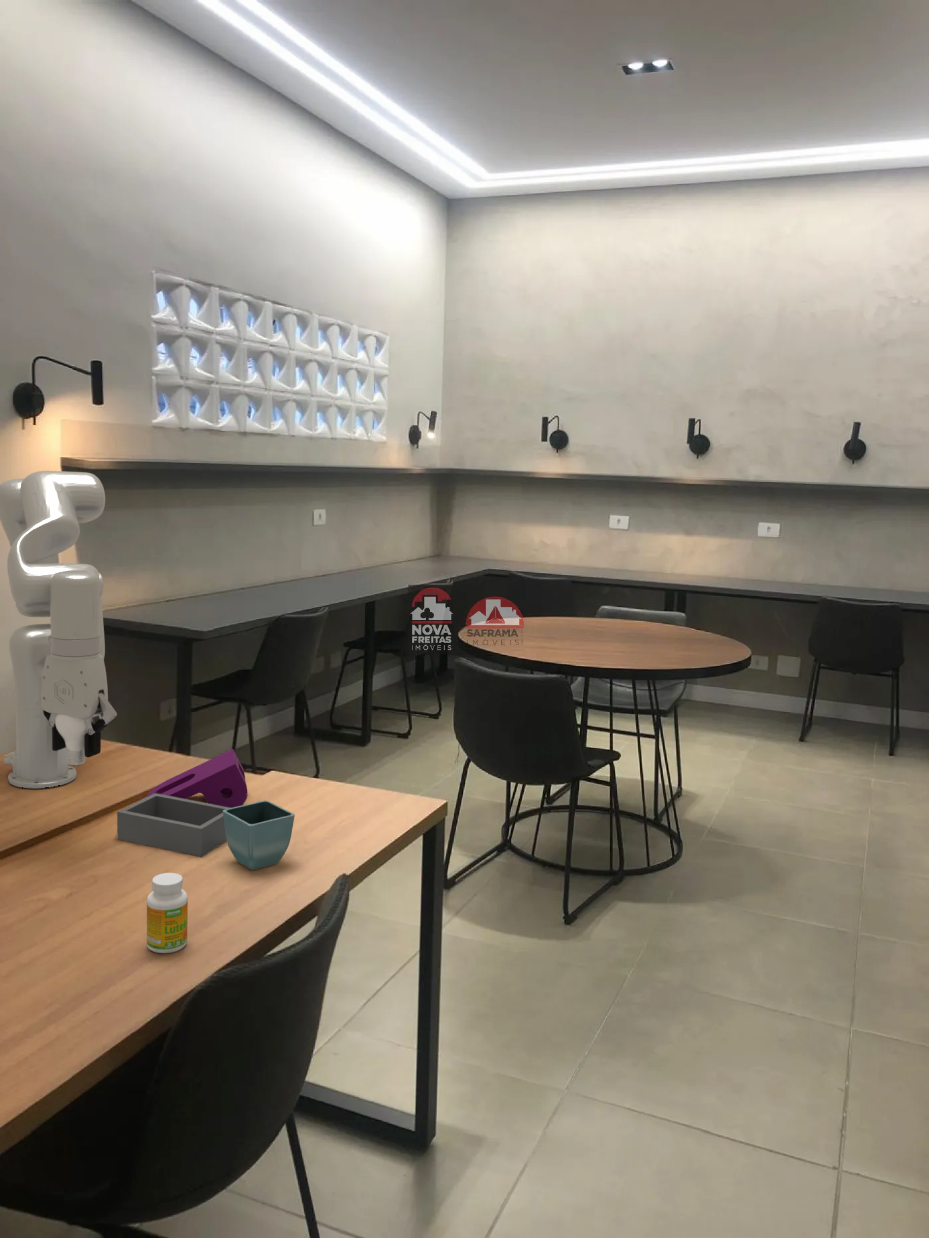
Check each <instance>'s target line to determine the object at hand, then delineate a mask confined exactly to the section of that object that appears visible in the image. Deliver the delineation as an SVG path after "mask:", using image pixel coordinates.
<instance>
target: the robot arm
mask: <svg viewBox="0 0 929 1238" xmlns="http://www.w3.org/2000/svg"><path fill="white" fill-rule="evenodd" d="M105 493H106V492H105V489H104V485H103V483H102V482H101V480H100V479H99V477H98V476H96V475H95V474H94V473H90V472H86V471H85V472H84V471H83V472H82V471H60V470H41V471H40V470H39V471H34V472H32V473H30V474H28V475H27V476H25V477H24V478H13V479H8V480H5V481H3V482H2V483H0V524H1V526H2V528H3V531H4V534H5V535H6V538H7V540H8V543H9V546H10V549H9V552H8V554H7V555H8V556H7V560H6V561H7V564H6V565H7V566H6V567H7V575H8V582H9V587H10V592H11V595H12V598H13V601H14V602H15V606H16V609H17V611H18V613H19V614H21V616H24V617H28V618H50V623H39V624H38V623H37V624H35V623H34V624H28V625H24V626H23V625H22V626H21V627H18V628H17V629H15V630H14V631H13V632H12V633H11V635H10V638H9V640H8V641H9V643H8V645H9V646H8V647H9V648H8V649H9V654H10V655H9V657H10V661H11V666H12V671H13V672H12V673H13V679H14V693H15V694H14V697H15V699H14V700H15V701H14V702H15V703H14V704H15V731H16V733H15V734H16V735H15V736H16V737H15V738H16V739H15V740H16V741H15V742H16V743H15V744H16V746H15V747H16V752H13V751H11V752H9V753H8V754H7V757H5V758H4V759H3V764H5V765H7V766H12V771H11V772H10V773H9V774H8V783H9V784H10V785H12V786H14V787H17V788H22V787H23V788H24V789H46V788H45V787H49V788H54V786H55V787H59V786H58V785H60V786H63V785H66V784H68V783H71V782H73V781H74V780H75V779H76V777H77V770H76V768H75V767H74V766H72V765H71V766H70V765H69V763H68V749H67V747H66V745H65V741H64V739H63V737H62V736H61V735H60V733H59V732H58V730H57V728H56V725H55V718H56V715H59V714H61V715H67V716H70V717H74V718H80V719H84V722H85V725H86V729H87V732H88V733H87V734H85V736H84V755H85V758H89V759H90V758H92V757H94V756H96V755H99V754H100V753H101V751H102V749H101V748H102V731H104V730H105V728H106V727H107V726H108V725H109V724H110V722H112V721H113V720H114V719H115V718H116V717H117V715H118V713H117V711H116V710H115V708H114V707H113V706H112V704H111V702H110V701H109V695H108V691H109V690H108V680H107V672H106V665H105V660H104V659H105V654H106V646H105V645H106V644H105V643H106V642H105V630H104V628H105V627H104V615H103V613H104V612H103V599H102V598H103V597H102V595H103V589H104V584H103V576H102V574H101V573H100V572H99V570H98V569H97V568H96V567H95V566H94V565H92V564H88V563H60V559H59V555H60V554H61V553H63V552H65V551H66V550H67V551H68V549H71V547H73V546H74V545H75V544H76V542H77V541H78V539H79V537H80V534H81V531H80V524H85V523H88V522H89V523H90V522H91V521H94V520H96V519H97V518H99V517H101V515H102V514H103V512H104V510H105V506H106V505H105V504H106V494H105ZM101 714H103V715H101ZM93 717H94V719H95V724H93V721H92V718H93Z"/></svg>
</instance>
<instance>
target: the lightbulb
mask: <svg viewBox="0 0 929 1238" xmlns="http://www.w3.org/2000/svg"><path fill="white" fill-rule="evenodd" d="M92 721H93V724H95V719H94V717H93V718H92ZM55 725H56V728H57V730H58V732H59V733H60V735H61V736H62V737H63V739H64V741H65V745H66V747H67V749H68V765H69V766H70V765H71V767H79V766H82V765H83V764H84V763H85V762H86V757H85V755H84V736H85V734H87V733H88V732H87V729H86V725H85V722H84V719H80V718H74V717H70V716H67V715H61V714H59V715H56V718H55Z"/></svg>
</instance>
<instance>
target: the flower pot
mask: <svg viewBox="0 0 929 1238" xmlns="http://www.w3.org/2000/svg"><path fill="white" fill-rule="evenodd" d="M295 816H296V815H295V813H293V812H292V811H290V810H287V809H285V808H283V807H281V806H280V805H277V804H275V803H274V802H272V801H270V800H265V799H264V800H259V801H256V802H252V803H247V804H243V805H242V806H238V807H234V808H229V809H225V810H223V817H224V826H225V834H226V840H227V841H226V843H227V846H228V848H229V850H230V852H231V854H232V855H233V857H234V859H235V861H237V862H238V863H240V864H241V865H243V866H244V867H247V869H249V870H251V871H256V870H259V869H262V868H266V867H269V866H273V865H276V864H278V863H279V862H280V861H281V859H282V858H283V857H284V855H285V853H286V852H287V849H288V847H289V845H290V843H291V842H290V841H291V838H292V833H293V828H294V823H295Z"/></svg>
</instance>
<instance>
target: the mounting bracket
mask: <svg viewBox="0 0 929 1238" xmlns="http://www.w3.org/2000/svg"><path fill="white" fill-rule="evenodd" d="M154 793H156V794H162V795H167V796H172V797H177V798H182V799H189V798H192V797H193V796H195V795H197V794H198V795H199V794H201V795H202V796H203V798H204V800H205V802H206V803H208V804H214V805H219V806H224V807H229V808H234V807H238V806H242V805H245V802H247V801H246V800H247V797H248V786H247V781H246V774H245V770H244V768H243V765H242V764H241V762H240V760H239V757H238V756H237V753H236V752H235V750H234V748H232V749H229V750H227V751H226V752H223V753H221V754H218V755H217V756H215V757H213V758H210V759H208V760H207V761H204V762H202V763H200V764H198V765H196V766H194V767H192V768H189V769H187V770H185V771H183V772H181V773H179V774H176V775H175V776H173V777H170V778H169V779H166V780H165V781H163V782H161V783H160V784H158V785H157V786H155V787H154V788H152V789H151V790H150V792H149V791H148V793H147V794H146V797H148V796H150V795H152V794H154ZM146 797H145V798H146Z"/></svg>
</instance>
